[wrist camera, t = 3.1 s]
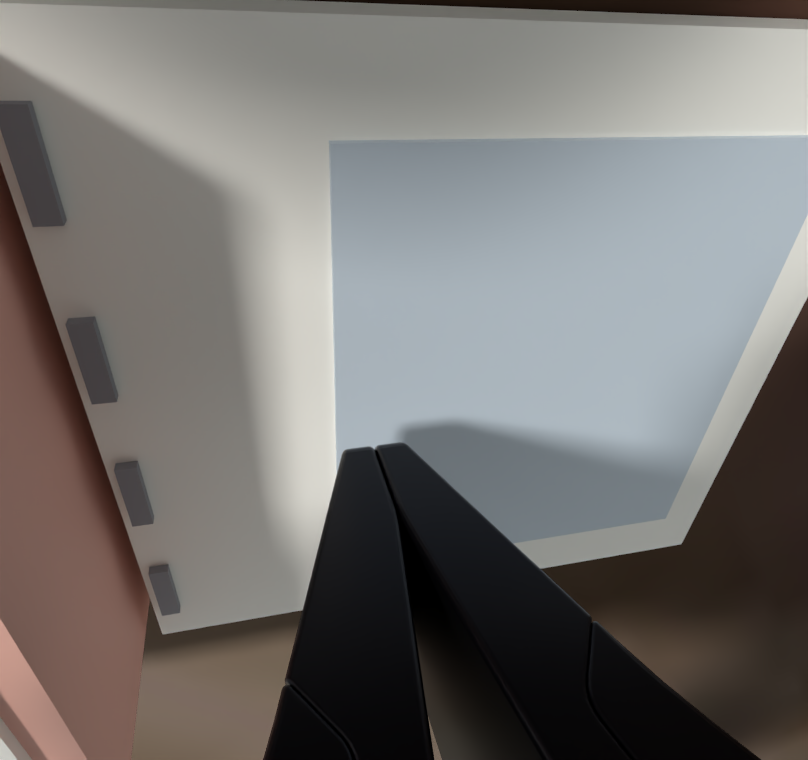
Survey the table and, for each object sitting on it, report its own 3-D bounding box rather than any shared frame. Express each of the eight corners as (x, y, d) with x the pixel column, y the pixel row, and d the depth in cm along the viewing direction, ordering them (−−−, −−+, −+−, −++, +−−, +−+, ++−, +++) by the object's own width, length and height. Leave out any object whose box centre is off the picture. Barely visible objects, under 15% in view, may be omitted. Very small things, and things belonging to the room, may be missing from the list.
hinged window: (863, 21, 8) (952, 35, 7) (652, 504, 14) (685, 549, 13) (-13, -11, 6) (-62, 3, 5) (167, 579, 12) (161, 641, 11)
